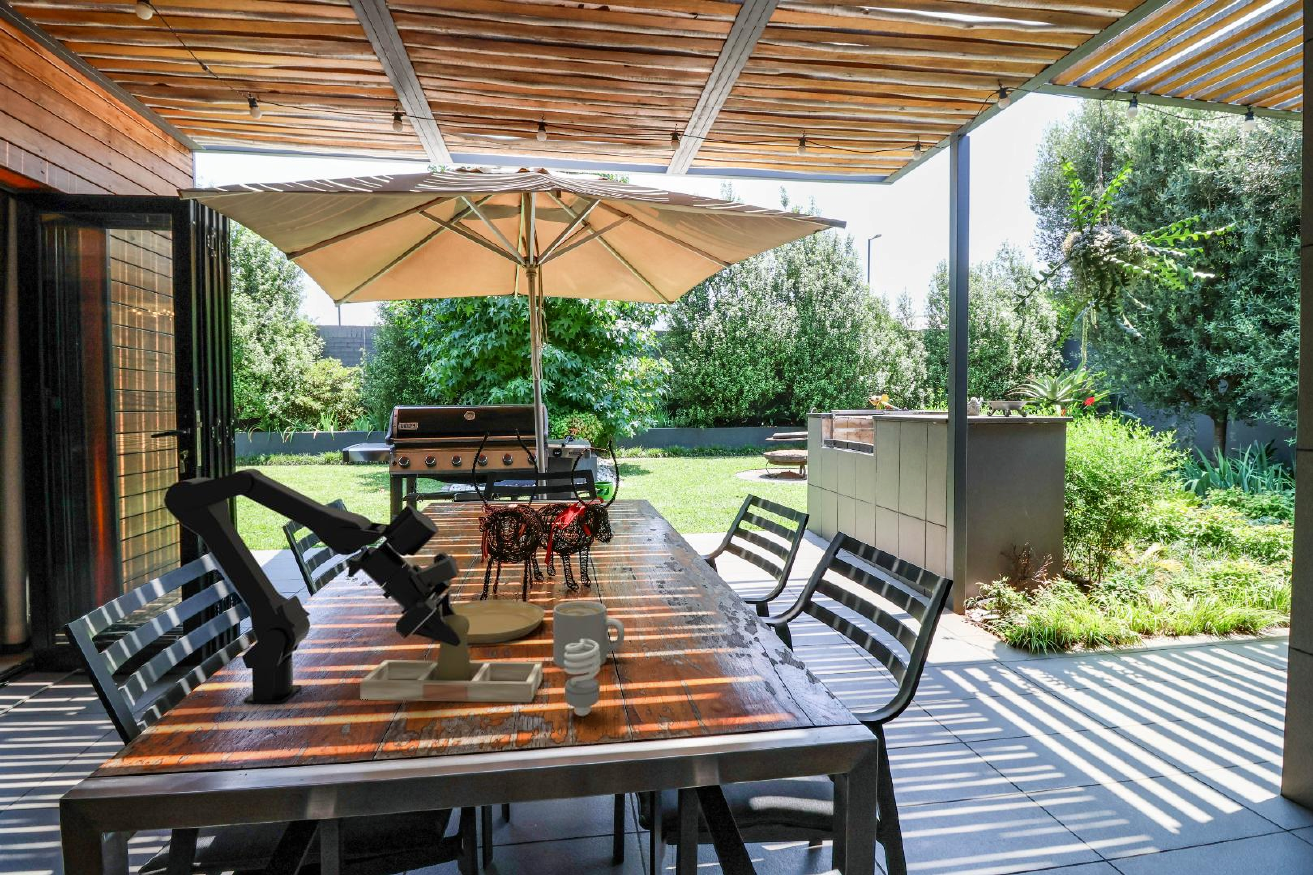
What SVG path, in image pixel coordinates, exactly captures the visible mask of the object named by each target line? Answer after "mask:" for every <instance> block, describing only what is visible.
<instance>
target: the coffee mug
mask: <svg viewBox="0 0 1313 875" xmlns="http://www.w3.org/2000/svg"><path fill="white" fill-rule="evenodd" d="M552 614H553V618H552V619H553V622H552V624H553V626H552V627H553V630H552V631H553V634H552V635H553V643H552V644H553V645H552V646H553V647H552V648H553V664H554V665H555V666H557V667H559V668H561V669H564V670H565V667H566V665H565V664H564V660H565V659H567V658H565V657H564V654H565V653H566V652H567V651H566V650H565V646H566V645H568V644H571V643H580V640H581V639H590V640H593V641H595V642H597V643H598V644H599V652H600V660H601V662H600V665H599V666H602V665H604V664H605V663H606V662H607V655H608V653H610V652H612V651H615V650H617V649H619V648H620V647H621V646H622V645H623V643H624V641H625V627H624V624H623V623H622V621H621V620H619V619H617V618H614V617H610V616H609V617H608V616H607V607H606V605H605V604H603V603H600V602H596V601H592V600H591V601H590V600H577V601H575V600H573V601H568V602H567V601H566V602H562V603H559V604H558V605H555V606H554V607H553V613H552ZM609 627H615V630H616V632H617V638H616V640H615V641H611V640H610V638H609V634H608V629H609ZM588 645H590V644H588ZM579 650H584V651H591V650H588V649H584V648H581V649H579ZM588 659H591V657H588ZM587 666H589V667H590V666H592V665H587Z"/></svg>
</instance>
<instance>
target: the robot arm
mask: <svg viewBox="0 0 1313 875" xmlns="http://www.w3.org/2000/svg"><path fill="white" fill-rule="evenodd" d="M238 496H242V497H245V498H247V499H249V500H251V501H253V502H255V503H257V504H259V505H260V506H263V507H264V508H267V509H269V510H271V511H273V512H275V513H277V514H279V515H281V516H283V517H285V518H286V519H288V520H291V521H293V522H295V523H297V524H298V525H301V526H302V527H304V528H306V529H308V530H309V531H311V532H312V533H313V534H314V536H315V537H316V538H317V539H318V540H319V541H320V542H321V543H322V544H324V545H325V546H326V547H328V548H329V549H331V550H332V551H333V552H335V553H336V554H339V555H341V556H349V555H353V554H356V553H357V552H359V551H360V550H362V549H363V548H365V547H366V546H369V547H368V548H367V549H366V550H365V551H363V552H362V553H361V554H360V556H358V557H352V558H349V560H347V563H348V573H347V576H348V578H352V577H354V576H355V575H356V574H357V573H358V572H360V571H361V570H362V572H364V573H365V575H367V577H369V578H370V579H371V580H372V581H373V582H374V583H375V584H376V585H377V586H378V587H379V588H381V589H382V590H383V591H384V593H383V594H382V596H383V597H384V598H385V599H386V600H388V599H389V598H391V599H392V600H393V601H394V602H395V603H396V604H398V606H400V607H401V608H402V610H401V612H400V613H401V614H402V615H401V616H400V618H399V619H398V620H397V621H396V622H395V631H396V633H397V634H398V635H399V636H401V637H402V638H403V639H404V640H405V639H406V638H408V636H409V635H410V634H411V635H413V636H419V637H424V638H427V639H431V640H435V641H437V642H444V643H447V644H450V645H453V646H458V645H459V644H460V643H461V640H460V639H459V637H458V636H457V634H456V633H455V632H454V631H453V629H452V628H451V627H450V626H449V624H448V623H447V622H446V620H445V619H444V618H443V617H445V616H448V615H456V613H455V611H454V609H453V608H452V606H453V605H452V604H451V596H452V589H449V588H450V587H451V586H452V585H453V583H452V581H451V580H453V579H455V578H457V576H458V574H459V573H460V572H461V571H460V569H459V567H458V565H457V558H454V556H453V555H452V554H450V555H449V554H448V553H446V552H444V551H441V552H439V553H437V554H435V556H433V563H431V564H429V565H427V566H425V567H424V568H422V567H421V566H419V564H415V563H414V564H413V565H411V564H410V563H408V561H407V560H405V559H404V557H405V556H407V555H409V556H414V557H415V555H416V554H418V553H419V552H420V551H421V550H422V548H424V547H425V545H427V544H428V543H429V542H430V541H431V540H432V539H433V538H434V537H435V536H437V534H438V533H439V531H440V530H439V527H438V526H437V524H436V523H435V522H434V521H433V519H432V518H431V517H430V516H428V515H427V514H425V513H424V512H421V511H420V510H418V509H417V508H414V507H413V506H412V505H411V504H407V505H406V506H405V507H404V508H402V510H401V511H400V512H399V514H398V515H397V516H396V517H395V518H394V519H392V521H391V522H390V523H380V522H374V521H371V520H370V519H369V518H368V517H366V516H364V515H362V514H358V513H355V512H352V511H349V510H346V509H345V510H344V509H341V508H340V509H339V508H334V507H330V506H326V505H324V504H323V503H320V502H318V501H316V500H314V499H312V498H310V497H309V496H306V495H305V494H303V493H301V492H299V491H297V490H294V489H293V488H290V487H289V486H287V485H285V484H283V483H281V482H279V481H277V480H275V479H273V478H271V477H270V476H267V475H265V474H264V473H262V472H261V470H258V469H256V468H247V469H246V468H245V469H241V470H237V471H234V472H233V473H231V474H228V475H223V476H219V477H216V478H209V477H207V476H206V477H195V478H191V479H186V480H180V481H177V482H175V483H172V484H171V486H169V487H168V489H167V490H166V491H165V496H164V498H163V502H164V507H165V509H167V511H168V512H169V513H170V514H171V516H173V517H174V518H175V519H176V520H177V522H179V523H180V524H181V525H182V526H183V527H185V528H186V529H188V530H190V531H191V532H192V533H195V534H196V535H198V536H199V537H200V539H201V540H202V541H203V543H204V544H205V545H206V547H207V548H208V550H209V551H210V553H211V554H212V556H213V558H214V559H215V561H216V562H217V563H218V565H219V566H220V568H221V569H222V572H223V573H224V574H225V576H226V577H227V578H228V581H229V582H230V583H231V584H232V586H233V587H234V589H235V591H236V593H237V594H238V595H239V597H240V598H241V600H242V601H243V603H245V606H246V607H247V609H248V610H249V616H250V621H251V622H250V623H251V629H252V633H253V635H254V637H255V639H256V641H257V642H255V643H254V644H253V645H252V646H251V647H250V648H249V649H248V650H246V652H245V653H244V654H243V655H242V656H241V659H242V661H243V663H244V666H245V668H246V669H251V675H252V676H251V678H252V680H251V681H252V687H251V688H252V693H250V694H249V695H247V696H246V697H244V698H243V701H242V702H243V703H246V704H282V703H284V702H286V701H288V699H290V698H291V697H292V696H294V695H295V694H296V693H297V692H299V691H301V689H302V688H303V686H302V685H301V684H293V683H294V670H293V668H294V667H293V666H294V665H293V653H294V652H295V651H297V650H298V647H299V645H300V643H301V642H302V641H303V640H305V638H306V637H307V636H308V634H309V631H310V627H311V623H310V622H311V621H310V620H309V618H308V616H309V617H310V615H311V613H310V612H308V611H307V610H306V609H305V608H304V607H303V605H302V603H301V601H300V598H299V597H298V596H297V595H294V596H292V597H291V598H289V599H288V598H286V597H285V596H284V595H281V593H279V592H278V591H277V589H276V588H275V586H274V585H273V584H272V582H271V580H270V579H269V577H268V576H267V574H266V573H265V571H264V570H263V568H262V567H261V566H260V564H259V563H258V561H257V560H256V558H255V556H254V555H253V553H252V552H251V550H250V549H249V547H248V546H247V545H246V543H245V542H244V540H243V537H241V536H240V534H239V532H238V531H237V529H236V528H235V526H234V524H233V523H232V521H231V517H230V509H229V502H228V499H231V498H235V497H238ZM383 538H385V540H384V541H383V542H382V543H380V545H379V546H378V547H376V546H371V545H374V544H376V543H377V542H379V541H380V540H381V539H383ZM402 556H403V557H402ZM448 589H449V591H448V592H446V594H444V592H445V591H446V590H448Z"/></svg>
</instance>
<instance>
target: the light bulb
mask: <svg viewBox="0 0 1313 875" xmlns="http://www.w3.org/2000/svg"><path fill="white" fill-rule="evenodd" d="M588 644H590V645H588ZM581 648H584V649H588V650H591V651H584V650H579V649H581ZM565 650H566V651H567V652H566V653H565V654H564V657H565V658H567V659H565V660H564V664H565V665H566V667H565V669H564V672H565V673H566V674H569V675H576V676H573V677H572V678H570V679H568V680H567V681H566V682H565V684H564V686H565V687H564V695H565V702H566V703H567V705H569V706H571V707H573V709H574V710H573V711H574V712H573V713H575V714H576V715H577V716H579V717H580V718H581V717H585V716H587V715H588V714H590V712H591V707H592V706H594V705H596V704H597V703H598V702H599V698H600V682H599V680H598V679H597V678H595V676H596V675H598V674H599V672H600V669H601V667H600V666H599V665H600V662H601V660H600V652H599V644H598V643H597V642H595V641H593V640H590V639H581V640H580V643H571V644H568V645H566V646H565ZM588 657H591V659H588ZM587 665H592V666H590V667H589V666H587ZM582 674H584V675H582Z"/></svg>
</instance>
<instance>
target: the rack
mask: <svg viewBox="0 0 1313 875" xmlns="http://www.w3.org/2000/svg"><path fill="white" fill-rule="evenodd" d="M437 663H438V660H410V659H407V660H405V659H403V660H401V659H396V660H395V659H384V660H383V661H381V663H380V664H378V666H376V667H375V668H374V669H373V670H371V671H370V673H368V674H367V675H366V676H365V677H363V679H361V680H360V682H359V691H360V692H359V694H360V698H359V700H360V699H361V700H362V699H363V700H362V701H410V702H411V701H415V702H417V701H418V702H419V701H420V702H425V701H426V702H478V703H479V702H482V703H483V702H484V703H485V702H490V703H491V702H493V703H495V702H496V703H532V701H533V699H534V698H535V695H536V693H537V691H538V689H539V687H540V685H541V683H542V681H543V661H485V660H484V661H483V660H481V661H480V660H477V661H476V660H470V668H471V675H472V680H471V681H442V680H435V678H436V671H437ZM365 699H366V700H365ZM367 699H368V700H367ZM361 700H360V701H361Z"/></svg>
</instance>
